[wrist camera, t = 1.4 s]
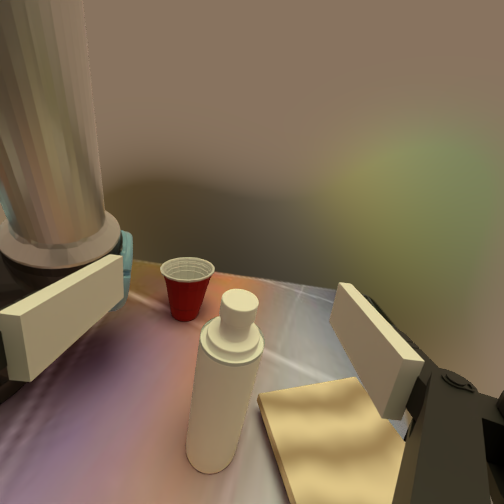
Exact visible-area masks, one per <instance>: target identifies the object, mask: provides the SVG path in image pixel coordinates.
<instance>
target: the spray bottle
mask: <svg viewBox="0 0 504 504" xmlns="http://www.w3.org/2000/svg"><path fill="white" fill-rule="evenodd" d="M258 305H259V301H258V299H257V297H256V296H255V295H254V294H252V293H251V292H249V291H246V290H242V289H231V290H228V291H226V292H225V293H224V294H223V295H222V300H221V306H220V312H219V314H220V316H218V317H215V318H213V319H211V320H209V321H208V322H207V323H206V324H205V325H204V326H203V328H202V330H203V331H202V330H201V332H202V333H200V340H199V347H198V355H197V362H196V369H195V377H194V384H193V392H192V400H191V407H190V415H189V423H188V430H187V438H186V454H187V457H188V460H189V462H190V463H191V465H192V466H193V467H194V468H195V469H196V470H198V471H200V472H202V473H206V474H213V473H217V472H220V471H222V470H223V469H225V468H226V467H227V466H228V465H229V464H230V462H231V461H232V459H233V457H234V455H235V452H236V448H237V444H238V441H239V437H240V433H241V430H242V426H243V423H244V419H245V415H246V412H247V408H248V404H249V401H250V397H251V394H252V390H253V386H254V383H255V379H256V375H257V371H258V368H259V364H260V360H261V357H262V353H263V349H264V345H265V339H264V335H263V333H262V331H261V330H260V329H259V327H258V326H257V325H256V324H254V323H253V322H254V321H255V317H256V313H257V309H258ZM206 325H207V326H206ZM205 326H206V327H205ZM204 327H205V328H204ZM260 334H261V335H260ZM261 336H262V337H261ZM262 338H263V339H262ZM263 342H264V344H263Z"/></svg>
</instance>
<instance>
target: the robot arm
mask: <svg viewBox="0 0 504 504" xmlns="http://www.w3.org/2000/svg"><path fill="white" fill-rule="evenodd" d="M0 203H1V205H2V208H3V210H4V212H5V214H6V217H7V219H6V220H4V221H3V223H2V224H1V225H0V404H1V403H2V402H4V401H5V400H6V399H8V398H9V397H10V396H12V395H13V394H14V393H15V392H16V391H18V390H19V389H20V388H21V387H22V386H23V385H24V384H25V383H26V382H31V381H32V380H34V379H35V378H36V377H37V376H38V375H39V374H40V373H41V372H42V371H43V370H45V369H46V368H47V367H48V366H49V365H50V364H51V363H52V362H53V361H54V360H56V359H57V358H58V357H59V356H60V355H61V354H62V353H63V352H64V351H65V350H67V349H68V348H69V347H70V346H71V345H72V344H73V343H74V342H75V341H76V340H78V339H79V338H80V337H81V336H82V335H83V334H84V333H85V332H86V331H87V330H89V329H90V328H91V327H92V326H93V325H94V324H95V323H96V322H97V321H98V320H100V319H101V318H102V317H103V316H104V315H105V314H106V313H107V312H110V311H116V310H118V309H120V308H121V307H123V305H124V304H125V302H126V300H127V297H128V292H129V286H130V278H131V274H130V272H131V267H132V256H133V239H132V235H131V234H130V233H128V232H124V231H123V230H121V231H120V227H119V224H118V222H117V220H116V219H115V218H114V217H113V216H112V215H111V214H110V213H108V212H107V211H105V208H104V198H103V189H102V179H101V171H100V160H99V151H98V141H97V131H96V122H95V113H94V103H93V94H92V84H91V74H90V65H89V55H88V46H87V36H86V26H85V17H84V7H83V0H0ZM329 322H330V324H331V326H332V328H333V330H334V331H335V333H336V335H337V337H338V339H339V341H340V342H341V344H342V346H343V348H344V350H345V352H346V354H347V355H348V357H349V359H350V361H351V363H352V365H353V367H354V368H355V370H356V372H357V374H358V376H359V378H360V380H361V381H362V383H363V385H364V387H365V389H366V391H367V392H368V394H369V396H370V398H371V400H372V402H373V404H374V405H375V407H376V409H377V411H378V413H379V415H380V417H381V418H382V419H391V420H400V421H401V419H402V417H403V414H404V412H405V409H406V408H407V410H408V411H409V413H410V414H411V416H412V417H413V418H412V421H411V423H410V425H409V428H408V430H407V433H406V435H405V437H404V441H405V442H406V443H405V447H404V452H403V456H402V461H401V465H400V469H399V474H398V478H397V483H396V487H395V491H394V496H393V500H392V504H491V501H490V496H491V499H492V501H493V504H504V391H503V392H502V393H501V395H500V397H499V399H497V398H494V397H491V396H488V395H484V394H481V393H478V391H477V389H476V388H475V387H474V386H473V384H472V383H471V382H469V381H468V380H466V379H465V378H464V377H462V376H460V375H458V374H456V373H455V372H452V371H449V370H446V369H441V368H438V366H437V365H436V364H434V362H433V361H432V360H431V359H429V357H428V356H427V355H426V354H425V353H424V352H423V351H422V350H420V349H419V347H418V346H417V345H416V344H415V343H413V341H412V340H411V339H410V338H409V337H408V336H407V335H406V334H404V333H403V332H401V331H400V330H398V329H397V328H395V327H392V326H391V325H390V324H389V323H388V322H387V321H386V320H385V319H384V318H383V317H382V316H381V315H380V314H379V313H378V312H377V311H376V309H375V308H374V307H373V306H372V305H371V304H370V303H369V302H368V301H367V300H366V299H365V298H364V297H363V296H362V295H361V294H360V293H359V292H358V291H357V289H355V287H354V286H353V285H352V284H348V283H339V284H338V288H337V292H336V296H335V300H334V304H333V308H332V312H331V316H330V320H329Z"/></svg>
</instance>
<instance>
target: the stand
mask: <svg viewBox="0 0 504 504" xmlns="http://www.w3.org/2000/svg"><path fill="white" fill-rule="evenodd" d="M257 402H258V405H259V408H260V412H261V415H262V418H263V421H264V424H265V427H266V431H267V434H268V437H269V440H270V443H271V446H272V449H273V452H274V455H275V458H276V461H277V464H278V467H279V470H280V473H281V476H282V480H283V483H284V486H285V489H286V492H287V495H288V498H289V501H290V504H392V500H393V496H394V491H395V487H396V483H397V478H398V474H399V469H400V465H401V461H402V456H403V452H404V447H405V442H404V441H403V439H402V438H401V437H400V435H399V434H398V433H397V431H396V430H395V429H394V427H393V426H392V425H391V423H390V422H389V421H388V419H382V418H381V417H380V415H379V413H378V411H377V409H376V407H375V405H374V404H373V402H372V400H371V398H370V396H369V394H368V393H367V392H366V390H365V389H364V388H363V386H362V385H361V384H360V382H359V381H358V380H357V378H356V377H351V378H345V379H340V380H334V381H328V382H323V383H317V384H311V385H306V386H300V387H294V388H289V389H283V390H277V391H272V392H266V393H260V394H259V395H258V398H257Z"/></svg>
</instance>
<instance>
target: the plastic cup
mask: <svg viewBox="0 0 504 504" xmlns="http://www.w3.org/2000/svg"><path fill="white" fill-rule="evenodd" d="M160 269H161V273H162V275H163V276H164V278H165V281H166V286H167V292H168V298H169V303H170V309H171V313H172V316H173V317H174V318H175V319H176V320H179V321H191V320H193V319H195V318H196V316H197V314H198V313H199V310H200V306H201V305H202V302H203V298H204V295H205V292H206V289H207V286H208V284H209V280H210V278H211V276H212V275H213V273H214V266H213V265H212V263H210V262H208V261H206V260H203V259H199V258H190V257H184V258H176V259H172V260H169V261H167V262H165V263H163V264H162V266H161V268H160Z"/></svg>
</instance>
